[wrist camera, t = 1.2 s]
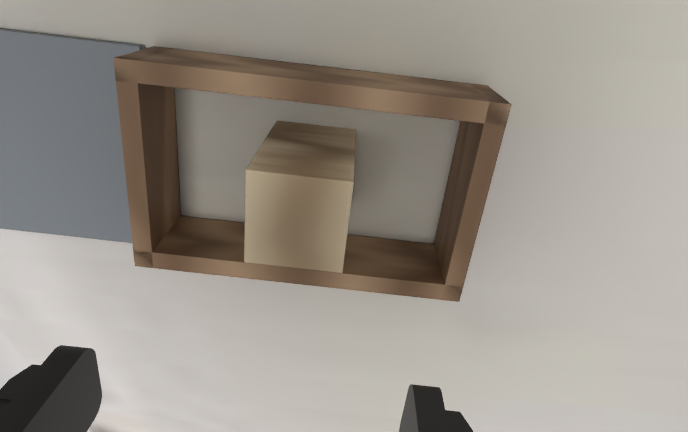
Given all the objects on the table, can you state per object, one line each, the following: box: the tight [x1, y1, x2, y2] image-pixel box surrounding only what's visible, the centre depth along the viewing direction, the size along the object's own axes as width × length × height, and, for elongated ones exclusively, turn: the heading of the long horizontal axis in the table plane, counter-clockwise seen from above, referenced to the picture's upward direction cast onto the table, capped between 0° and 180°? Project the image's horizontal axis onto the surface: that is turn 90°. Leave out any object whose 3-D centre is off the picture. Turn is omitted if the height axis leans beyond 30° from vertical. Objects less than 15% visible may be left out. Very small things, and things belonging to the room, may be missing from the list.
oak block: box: [244, 121, 356, 273], centre depth 24 cm, size 4×4×8 cm
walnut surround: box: [113, 46, 511, 302], centre depth 26 cm, size 18×11×4 cm, turn 84°
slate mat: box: [0, 28, 144, 243], centre depth 27 cm, size 11×12×1 cm
